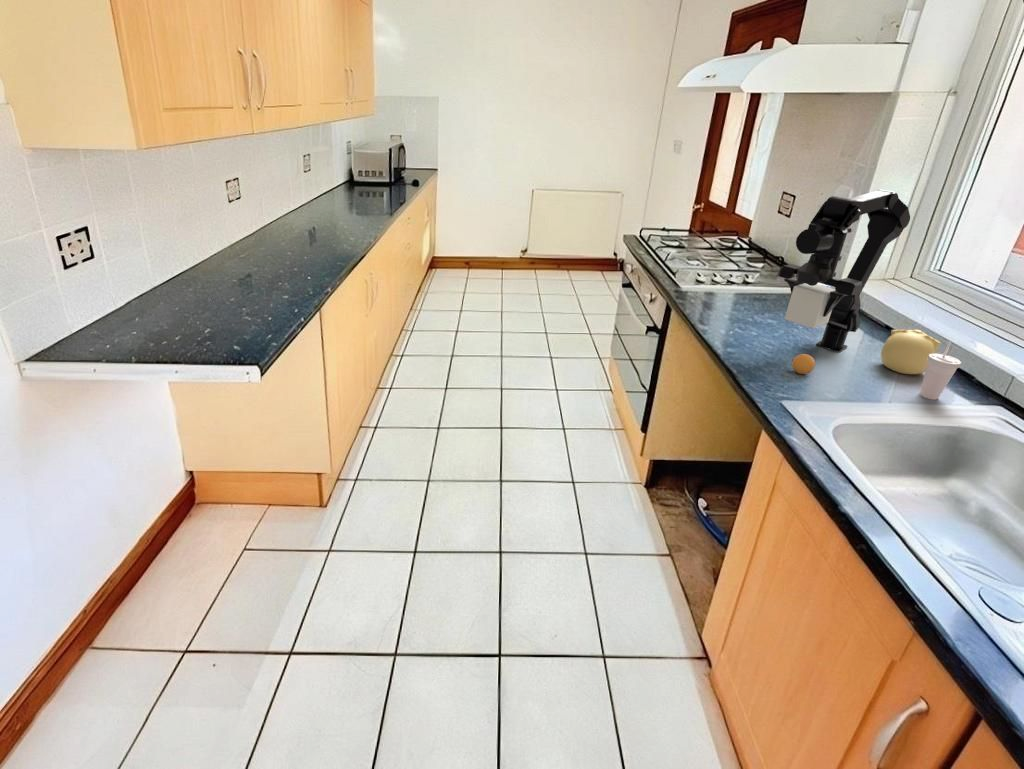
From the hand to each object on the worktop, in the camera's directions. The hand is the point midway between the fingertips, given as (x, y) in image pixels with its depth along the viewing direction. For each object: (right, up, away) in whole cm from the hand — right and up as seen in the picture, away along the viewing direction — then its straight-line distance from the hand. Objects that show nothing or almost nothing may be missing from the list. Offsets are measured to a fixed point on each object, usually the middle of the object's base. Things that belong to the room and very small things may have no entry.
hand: (809, 311), depth 147 cm
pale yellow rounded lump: (+25, -15, +3) cm, 30 cm away
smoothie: (+22, -22, -12) cm, 33 cm away
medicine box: (+26, +7, +47) cm, 54 cm away
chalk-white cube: (0, -2, +1) cm, 2 cm away
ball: (-4, -14, -5) cm, 15 cm away
